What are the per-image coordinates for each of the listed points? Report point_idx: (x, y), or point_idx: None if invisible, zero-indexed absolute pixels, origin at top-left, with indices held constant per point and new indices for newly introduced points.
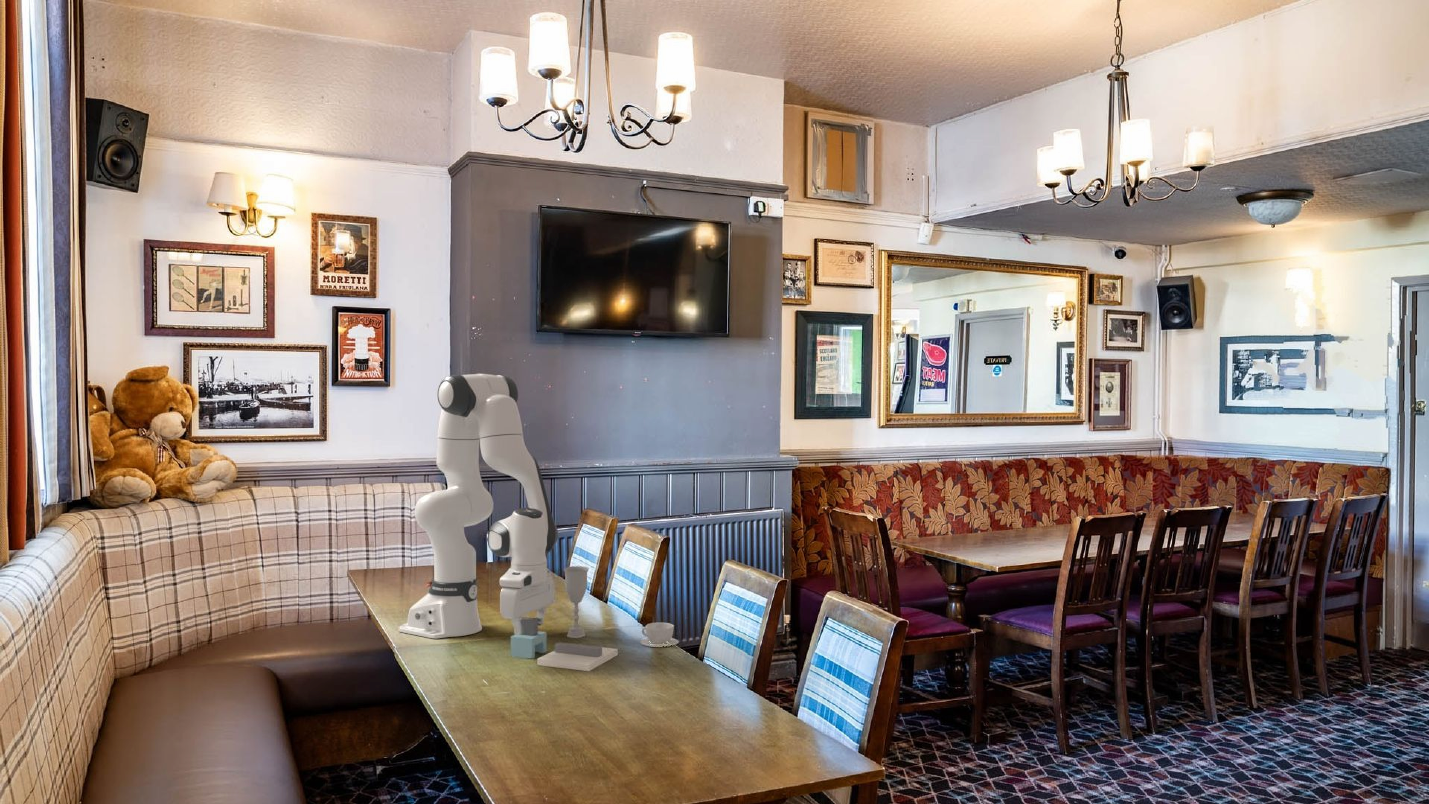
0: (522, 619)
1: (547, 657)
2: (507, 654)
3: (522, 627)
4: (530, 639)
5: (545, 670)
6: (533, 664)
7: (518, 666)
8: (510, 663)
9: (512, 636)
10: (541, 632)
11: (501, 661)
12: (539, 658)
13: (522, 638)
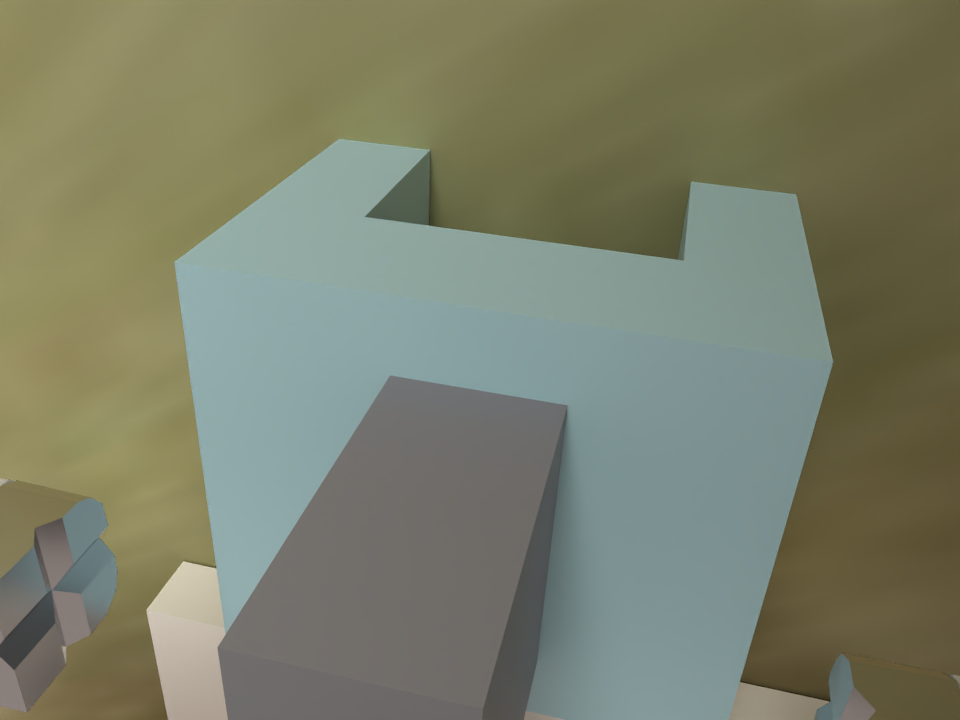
0: (237, 702)
1: None
2: (424, 25)
3: (2, 688)
4: (227, 615)
5: (93, 656)
6: (185, 521)
7: (49, 406)
8: (85, 278)
9: (193, 295)
10: (672, 691)
11: (89, 123)
12: (164, 627)
13: (215, 491)
